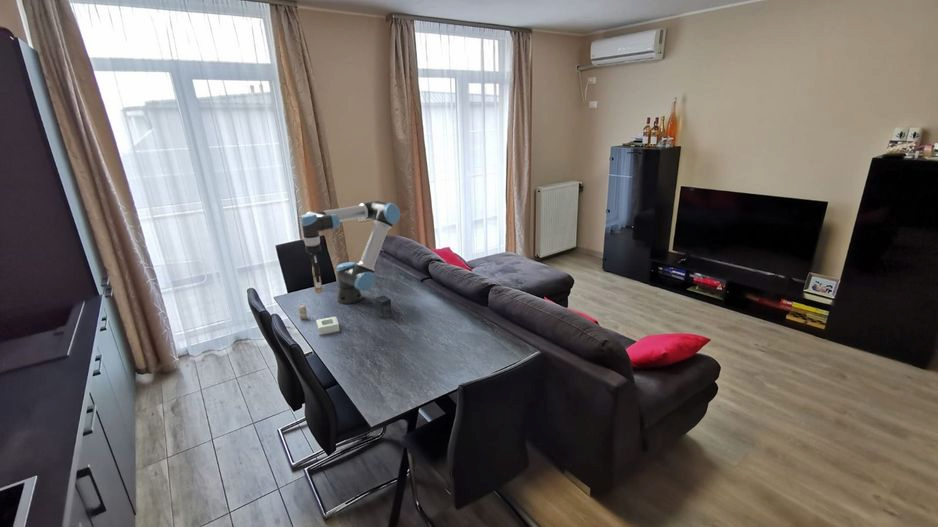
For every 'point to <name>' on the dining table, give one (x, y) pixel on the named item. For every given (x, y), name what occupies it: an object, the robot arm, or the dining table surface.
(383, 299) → the box
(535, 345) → the dining table surface
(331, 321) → the hole block
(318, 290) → the long pin
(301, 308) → the short pin
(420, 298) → the dining table surface
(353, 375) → the dining table surface
